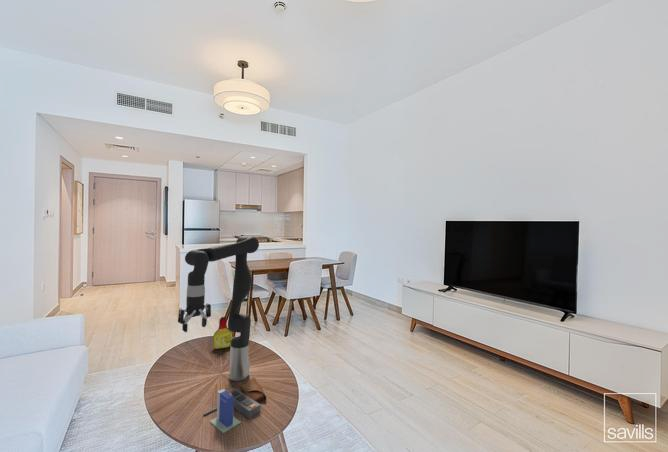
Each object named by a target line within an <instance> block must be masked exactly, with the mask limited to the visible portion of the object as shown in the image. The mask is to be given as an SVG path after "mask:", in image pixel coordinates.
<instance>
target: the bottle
mask: <svg viewBox="0 0 668 452" xmlns="http://www.w3.org/2000/svg"><path fill="white" fill-rule="evenodd" d="M218 325H219V326H218V329H217V330H216V331H215V332H214V333H213V337H212V344H213V348H214V349H215V350H216V349H217V350H218V349H224V348H225V349H226V348H229V347H230V346H231V340H232V339H233V332H231V331H229V329H228V321H227V318H226V317H225V316H222V317H220V319H219V322H218Z"/></svg>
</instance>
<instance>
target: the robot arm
mask: <svg viewBox="0 0 668 452" xmlns="http://www.w3.org/2000/svg"><path fill="white" fill-rule="evenodd" d="M259 247H260V242H259V240H258V239H257V237H255V236H244V235H241V236H239V237H238V238H237V239H236V242H233V243H226V244H218V245H214V246H211V247H207V248H205V247H204V248H196V249H191V250H189V251H188V252H187V253H186V254H185V256H184V261H185V263H186V264H187V265H188V266H193V270H192V271H190V272H188V273H187V287H186V301H185V302H186V306H185V309H184V308H183V309H182V308H180V309H179V310H178V315H177V323H179V324H181V325H182V331H183V333H187V332H188V326H189V325H188V323H189V321H190V320H191V319H192V318H196V317H200V316H201V318H202V319H201V327H203V328H206V326H207V322H208V319H209V318H210V317H211V316H212V308H211V307H212V305H211V304H210V303H205V297H206V296H205V293H206V286H205V278H206V277H205V275H206V272H207V269H208V265H209V263H210V262H216V261H220V260H223V259H227V258H230V257H232V256H233V257H234V256H235V264H234V277H233V285H232V295H231V296H232V297H231V303H230V311H229V315H228V320H227V328H228V329H229V331H231V332H232V333H238V334H239V333H240V334H239V335H238V336H235V337H232V340H231V345H230V346H229V347H230V349H229V351H230V353H229V354H230V355H229V356H230V357H229V374H228V375H229V380H231V381H232V382H234V381H235V382H240V381H243V380H245V379H247V378H248V376H249V375H250V360H251V359H250V358H251V357H249V346H250V345H249V342H250V335H251V326H252V325H251V324H252V323H251V322H252V319H251V316H250V315H248V314H241V313H240V314H239V311H240V308H241V305H242V303H243V301H244V300H245V299H246V298H247V296H248V295H249V293H250V291H251V289H252V274H251V271H250V269H249V266H248V261H247V259H248V254H253V253H255V252H257V251H258V249H259ZM204 309H205V312H204Z"/></svg>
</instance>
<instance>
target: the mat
mask: <svg viewBox="0 0 668 452" xmlns="http://www.w3.org/2000/svg"><path fill="white" fill-rule="evenodd" d="M209 423H210V424H212V425H213V426H214V427H215V428H216V429H218V430H219V431H220V432H221V433H222V434H225V433H227V432H228V431H230V430H232V429H233V428H234V427H236V426H238V425H240V424H241V423H242V422H241V421H240V420H239V419H238V418H236V417H235V416H234V415H233V424H232V425H230V426H228V427H226V426H225V425H223V424H222V423H221V422H220V421H219V420H217V416H216V417H214V418H213V419H211V420H209Z"/></svg>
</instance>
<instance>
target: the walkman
mask: <svg viewBox="0 0 668 452" xmlns="http://www.w3.org/2000/svg"><path fill="white" fill-rule="evenodd" d="M233 402H234V396H233V395H232V394H231V393H229V391H227V390H226V389H224V388H222V389H220V390H218V391H217V401H216V407H217V410H216V417H217V420H219V421H220V422H221V423H222V424H223V425H225V426H226V427H228V426H230V425H232V424H233V416H234V407H233Z"/></svg>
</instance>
